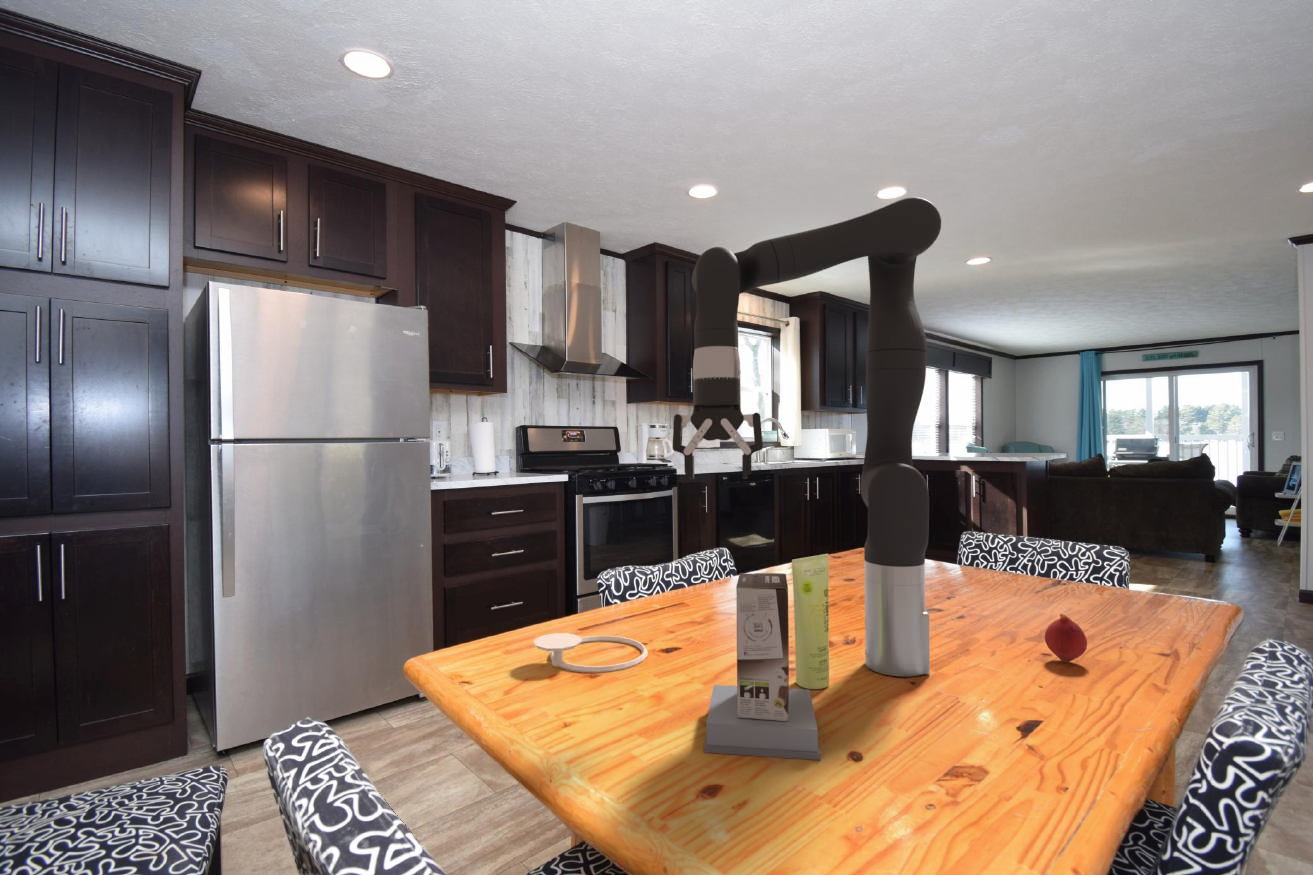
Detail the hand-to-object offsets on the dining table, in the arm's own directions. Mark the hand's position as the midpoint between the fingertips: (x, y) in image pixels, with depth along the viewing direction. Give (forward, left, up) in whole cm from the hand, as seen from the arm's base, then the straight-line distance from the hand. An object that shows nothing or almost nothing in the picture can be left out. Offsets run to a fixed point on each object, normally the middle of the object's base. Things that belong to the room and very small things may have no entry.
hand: (717, 478), depth 103 cm
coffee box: (-7, +20, -28) cm, 35 cm away
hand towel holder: (+23, -4, -32) cm, 39 cm away
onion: (-56, -12, -31) cm, 65 cm away
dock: (-6, +20, -31) cm, 38 cm away
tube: (-14, +3, -31) cm, 34 cm away
